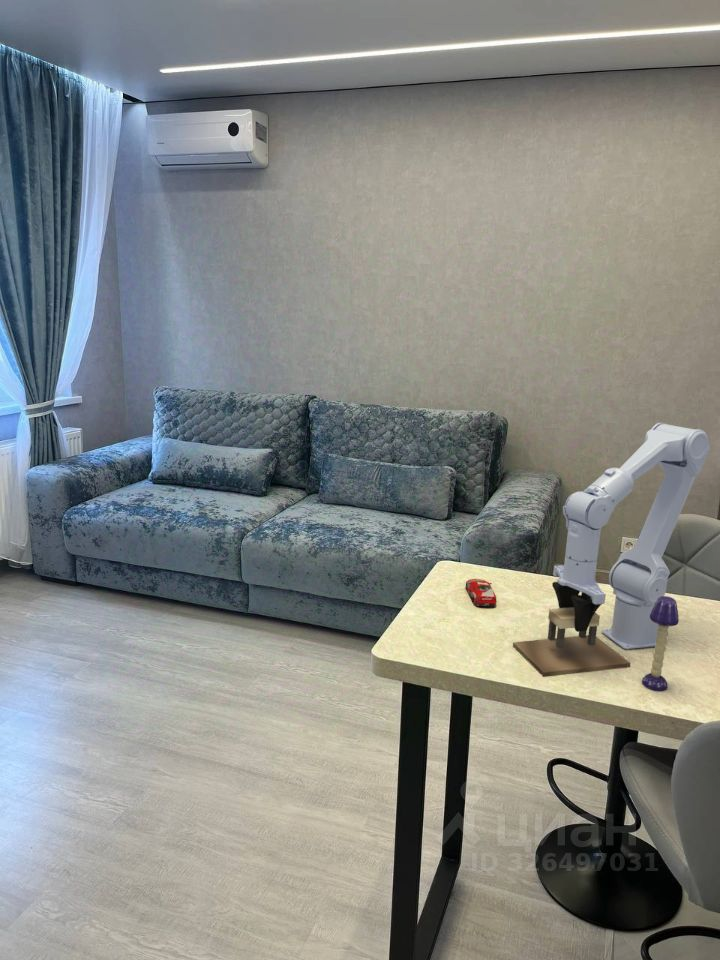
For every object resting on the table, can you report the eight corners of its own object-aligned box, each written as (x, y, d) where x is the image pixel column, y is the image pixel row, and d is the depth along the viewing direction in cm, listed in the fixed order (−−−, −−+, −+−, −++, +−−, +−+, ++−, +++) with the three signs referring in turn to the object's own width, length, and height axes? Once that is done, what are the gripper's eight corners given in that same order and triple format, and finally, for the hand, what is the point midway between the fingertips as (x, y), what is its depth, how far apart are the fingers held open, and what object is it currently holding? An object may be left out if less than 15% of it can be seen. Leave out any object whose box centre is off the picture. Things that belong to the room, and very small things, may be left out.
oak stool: (546, 638, 136) (549, 609, 134) (583, 635, 138) (587, 606, 136) (558, 648, 132) (561, 618, 130) (596, 645, 133) (599, 616, 132)
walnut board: (593, 638, 143) (593, 634, 143) (629, 666, 132) (630, 662, 132) (512, 646, 139) (513, 642, 138) (543, 676, 127) (543, 672, 127)
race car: (463, 586, 169) (464, 571, 168) (486, 587, 169) (487, 571, 168) (473, 609, 156) (474, 592, 155) (497, 610, 156) (499, 593, 155)
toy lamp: (673, 692, 123) (687, 604, 119) (647, 693, 123) (660, 604, 119) (660, 678, 128) (672, 593, 124) (635, 679, 128) (647, 593, 124)
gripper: (542, 545, 136) (535, 610, 140) (583, 572, 123) (575, 643, 126) (574, 543, 138) (567, 607, 141) (619, 569, 125) (610, 640, 128)
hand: (573, 624), depth 134 cm, fingers closed on oak stool, 4 cm apart
